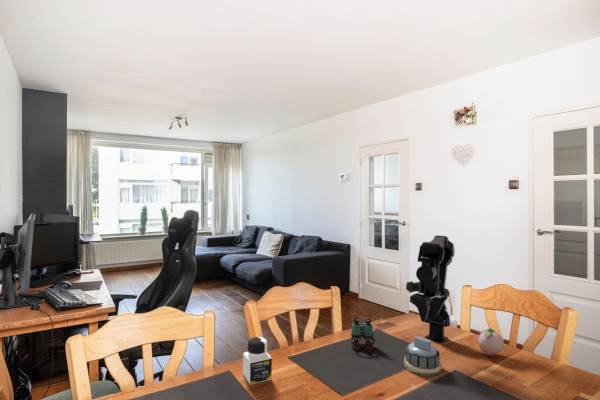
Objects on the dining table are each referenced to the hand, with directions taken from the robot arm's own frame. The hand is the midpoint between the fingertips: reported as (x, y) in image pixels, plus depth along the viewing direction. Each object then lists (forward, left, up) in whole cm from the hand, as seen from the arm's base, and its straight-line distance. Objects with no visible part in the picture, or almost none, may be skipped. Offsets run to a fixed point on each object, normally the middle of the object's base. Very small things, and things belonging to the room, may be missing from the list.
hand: (429, 318), depth 129 cm
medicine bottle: (+58, -27, -13) cm, 65 cm away
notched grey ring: (+12, +4, -12) cm, 18 cm away
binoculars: (+16, -18, -13) cm, 27 cm away
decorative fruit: (-15, +16, -13) cm, 25 cm away
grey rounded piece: (+12, +4, -10) cm, 16 cm away
